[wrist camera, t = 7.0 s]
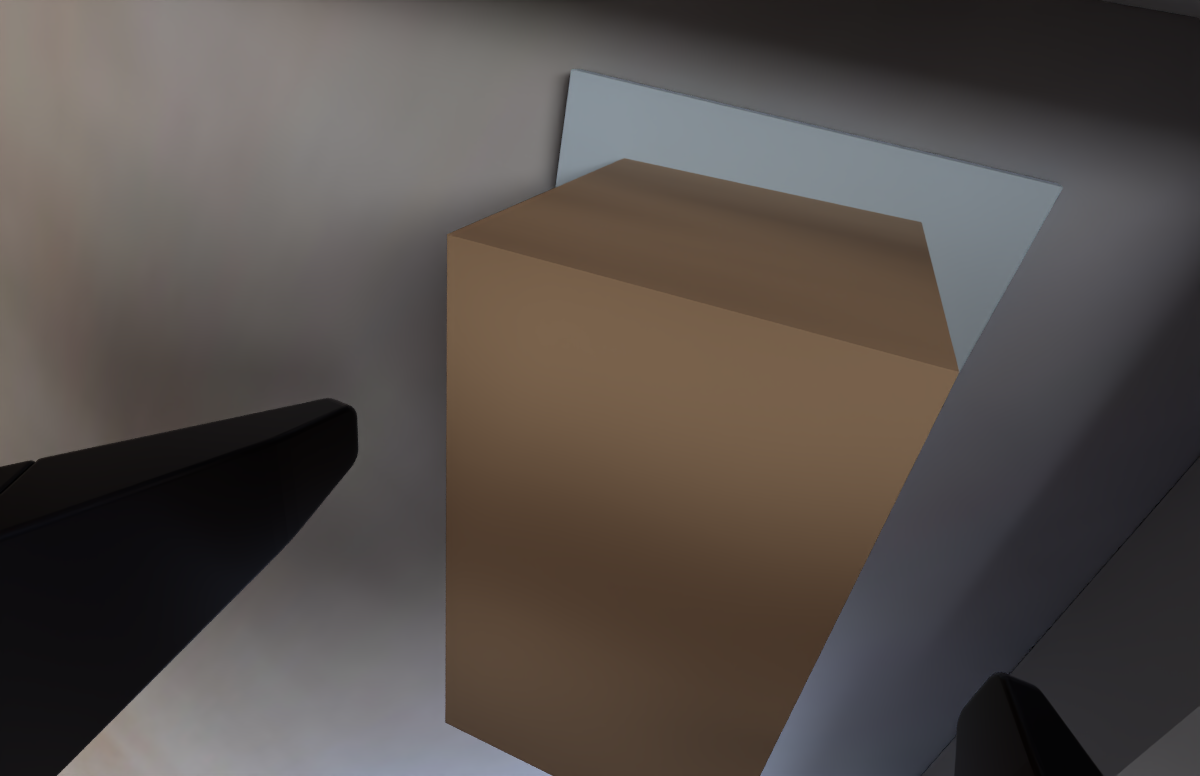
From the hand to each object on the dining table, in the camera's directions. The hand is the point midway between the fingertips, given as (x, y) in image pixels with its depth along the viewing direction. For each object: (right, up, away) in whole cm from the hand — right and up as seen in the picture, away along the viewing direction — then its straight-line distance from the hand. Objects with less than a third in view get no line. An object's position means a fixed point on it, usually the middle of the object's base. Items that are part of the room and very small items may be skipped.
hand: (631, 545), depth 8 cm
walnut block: (+1, +2, +3) cm, 4 cm away
